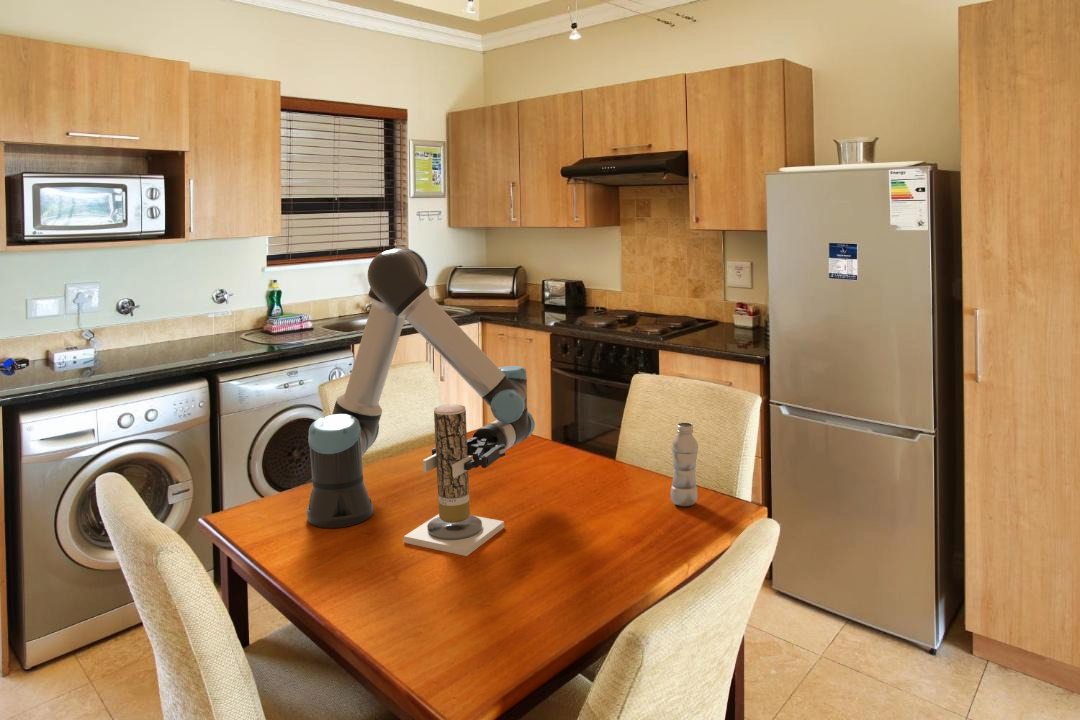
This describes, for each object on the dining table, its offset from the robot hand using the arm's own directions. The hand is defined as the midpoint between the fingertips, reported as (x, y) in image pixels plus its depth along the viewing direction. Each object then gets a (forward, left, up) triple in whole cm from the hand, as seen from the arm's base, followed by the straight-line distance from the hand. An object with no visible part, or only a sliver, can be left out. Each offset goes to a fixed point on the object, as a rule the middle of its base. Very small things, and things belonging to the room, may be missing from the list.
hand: (439, 468), depth 162 cm
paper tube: (0, +5, -13) cm, 14 cm away
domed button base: (0, +5, -17) cm, 18 cm away
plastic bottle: (+41, +43, -17) cm, 62 cm away
